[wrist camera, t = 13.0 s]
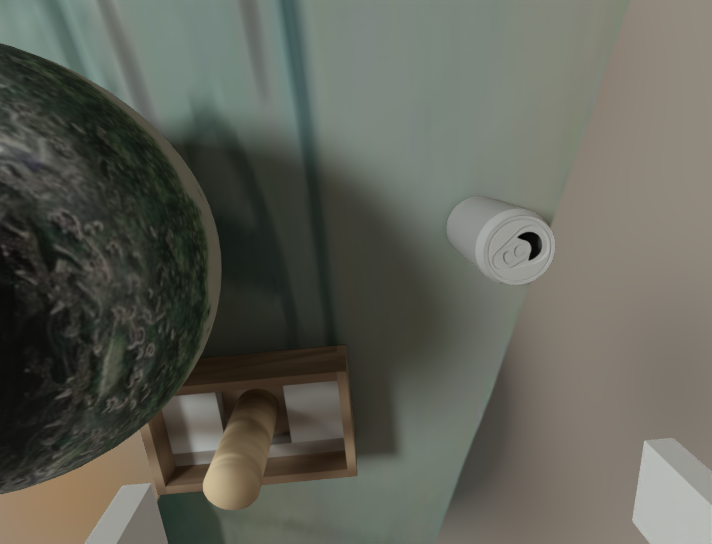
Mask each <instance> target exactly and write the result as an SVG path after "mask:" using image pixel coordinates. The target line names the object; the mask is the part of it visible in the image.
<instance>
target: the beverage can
mask: <svg viewBox="0 0 712 544" xmlns="http://www.w3.org/2000/svg"><path fill="white" fill-rule="evenodd" d="M447 236H448V239H449V241H450V243H451V245H452V246H453V247H454V248H455V249H456V250H457V251H458V252H459V253H460V254H461V255H463V256H464V257H465V258H466V259H467V260H468V261H470V262H471V263H472V264H473V265H474V266H475V267H476V268H478V269H479V270H480V271H481V272H482V273H483V274H485V275H486V276H487V277H488V278H490V279H491V280H493V281H495V282H498V283H501V284H512V285H520V284H525V283H529V282H531V281H533V280H535V279H537V278H538V277H540V276H541V275H542V274H543V273H544V272H545V271H546V270H547V269H548V267H549V266H550V264H551V262H552V260H553V258H554V253H555V238H554V235H553V233H552V231H551V229H550V228H549V226H548V224H547V223H546V221H545V220H544V219H543V218H542V217H541V216H539V215H538V214H536V213H535V212H532V211H530V210H527V209H524V208H520V207H517V206H514V205H511V204H507V203H504V202H501V201H498V200H495V199H491V198H488V197H483V196H475V197H471V198H468V199H465V200H463V201H462V202H460V203H459V204H458V205H457V206H456V207H455V208H454V209H453V211H452V212H451V214H450V216H449V218H448V222H447Z"/></svg>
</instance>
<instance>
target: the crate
mask: <svg viewBox="0 0 712 544" xmlns="http://www.w3.org/2000/svg"><path fill="white" fill-rule="evenodd" d="M251 389H263V390H266V391H269V392H270V393H272V394H273V395H274V396H275V397H276V399H277V400H278V403H279V414H278V418H277V422H276V426H275V430H274V434H273V438H272V442H271V446H270V450H269V454H268V458H267V462H266V467H265V471H264V475H263V479H262V483H261V485H268V484H278V483H288V482H299V481H309V480H320V479H330V478H341V477H351V476H357V456H356V437H355V427H354V418H353V408H352V399H351V389H350V379H349V370H348V360H347V351H346V345H336V346H325V347H315V348H304V349H293V350H283V351H272V352H262V353H251V354H240V355H230V356H219V357H208V358H199V360H198V361H197V363H196V365H195V367H194V368H193V370H192V372H191V373H190V375H189V377H188V378H187V379H186V381H185V382H184V384H183V385H182V386H181V388H180V389H179V390H178V392H177V393H176V394H175V395H174V396H173V397H172V398H171V399H170V401H169V402H168V403H167V404H166V405H165V406H164V407H163V408H162V409H161V410H160V412H159V413H158V414H157V415H155V416H154V417H153V418H152V419H151V420H150V421H149V422H148V423H147V424H145V425H144V426H143V427H142V428H140V431H141V435H142V438H143V442H144V446H145V449H146V453H147V456H148V460H149V463H150V467H151V471H152V474H153V478H154V481H155V485H156V489H157V492H158V495H163V494H174V493H184V492H194V491H203V481H204V478H205V476H206V474H207V471H208V469H209V467H210V464H211V462H212V460H213V457H214V455H215V452H216V450H217V448H218V445H219V443H220V441H221V438H222V436H223V434H224V431H225V429H226V427H227V424H228V422H229V419H230V417H231V415H232V412H233V410H234V408H235V405H236V403H237V401H238V399H239V397H240V396H241V395H242V394H243V393H244V392H246V391H248V390H251Z"/></svg>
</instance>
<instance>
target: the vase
mask: <svg viewBox="0 0 712 544" xmlns="http://www.w3.org/2000/svg"><path fill="white" fill-rule="evenodd" d="M221 273H222V268H221V251H220V244H219V237H218V233H217V229H216V225H215V221H214V218H213V215H212V212H211V209H210V206H209V204H208V202H207V199H206V197H205V195H204V193H203V191H202V189H201V187H200V185H199V183H198V182H197V180H196V178H195V176H194V175H193V173H192V172H191V170H190V169H189V167H188V166H187V164H186V163H185V162H184V160H183V159H182V157H181V156H180V155H179V154H178V152H177V151H176V150H175V149H174V148H173V147H172V145H171V144H170V143H169V142H168V141H167V140H166V139H165V138H164V137H163V136H162V135H161V134H160V133H159V132H158V131H157V130H156V129H155V128H154V127H153V126H152V125H151V124H150V123H149V122H148V121H147V120H145V119H144V118H143V117H142V116H141V115H140V114H138V113H137V112H136V111H135V110H134V109H132V108H131V107H130V106H128V105H127V104H126V103H124V102H123V101H121V100H120V99H119V98H117V97H116V96H114V95H113V94H112V93H110V92H109V91H107V90H105V89H104V88H102V87H100V86H99V85H97V84H95V83H93V82H92V81H90V80H88V79H87V78H85V77H83V76H81V75H79V74H78V73H76V72H74V71H72V70H69V69H67V68H65V67H63V66H61V65H59V64H57V63H55V62H52V61H50V60H47V59H44V58H42V57H39V56H36V55H34V54H31V53H28V52H25V51H23V50H20V49H17V48H15V47H12V46H8V45H4V44H1V43H0V494H4V493H8V492H13V491H17V490H21V489H24V488H27V487H30V486H33V485H36V484H39V483H42V482H44V481H47V480H50V479H52V478H55V477H58V476H60V475H63V474H65V473H67V472H70V471H72V470H74V469H76V468H79V467H81V466H83V465H84V464H86V463H88V462H90V461H92V460H93V459H95V458H97V457H99V456H101V455H102V454H104V453H105V452H107V451H109V450H111V449H113V448H115V447H116V446H118V445H119V444H120V443H122V442H123V441H124V440H126V439H127V438H129V437H130V436H131V435H133V434H134V433H135V432H136V431H138V430H139V429H140V428H142V427H143V426H144V425H145V424H147V423H148V422H149V421H150V420H151V419H152V418H153V417H154V416H155V415H157V414H158V413H159V412H160V410H161V409H162V408H163V407H164V406H165V405H166V404H167V403H168V402H169V401H170V399H171V398H172V397H173V396H174V395H175V394H176V393H177V392H178V390H179V389H180V388H181V386H182V385H183V384H184V382H185V381H186V379H187V378H188V377H189V375H190V373H191V372H192V370H193V368H194V367H195V365H196V363H197V361H198V360H199V358H200V356H201V354H202V352H203V350H204V348H205V345H206V343H207V340H208V338H209V335H210V333H211V330H212V327H213V324H214V320H215V317H216V313H217V308H218V302H219V296H220V290H221Z"/></svg>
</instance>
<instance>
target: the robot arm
mask: <svg viewBox="0 0 712 544" xmlns="http://www.w3.org/2000/svg"><path fill="white" fill-rule="evenodd" d="M632 521H633V523H634V524H635V525H636V526H637V528H638V529H639V530H640V531H641V533H642V534H643V535H644V537H645V538H646V539H647V541H648V542H649V543H650V544H712V472H711V471H710V470H709V469H708V468H707V467H706V466H704V465H703V464H702V463H701V462H700V461H699V460H698V459H696V458H695V457H694V456H693V455H692V454H691V453H690V452H689V451H687V450H686V449H685V448H684V447H683V446H682V445H680V444H679V443H678V442H677V441H676V440H674V438H667V439H656V440H645V441H644V448H643V454H642V460H641V468H640V474H639V480H638V487H637V493H636V500H635V506H634V513H633V520H632ZM84 544H168V542H167V538H166V534H165V531H164V527H163V524H162V520H161V516H160V513H159V509H158V506H157V502H156V498H155V495H154V491H153V488H152V484H151V483H146V484H134V485H124V486H122V487H121V488H120V490H119V491H118V493H117V494H116V496H115V497H114V499H113V501H112V502H111V503H110V505H109V506H108V508H107V510H106V511H105V513H104V514H103V516H102V517H101V519H100V520H99V522H98V523H97V525H96V526H95V528H94V529H93V531H92V532H91V534H90V535H89V537H88V538H87V540H86V541H85V543H84Z"/></svg>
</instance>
